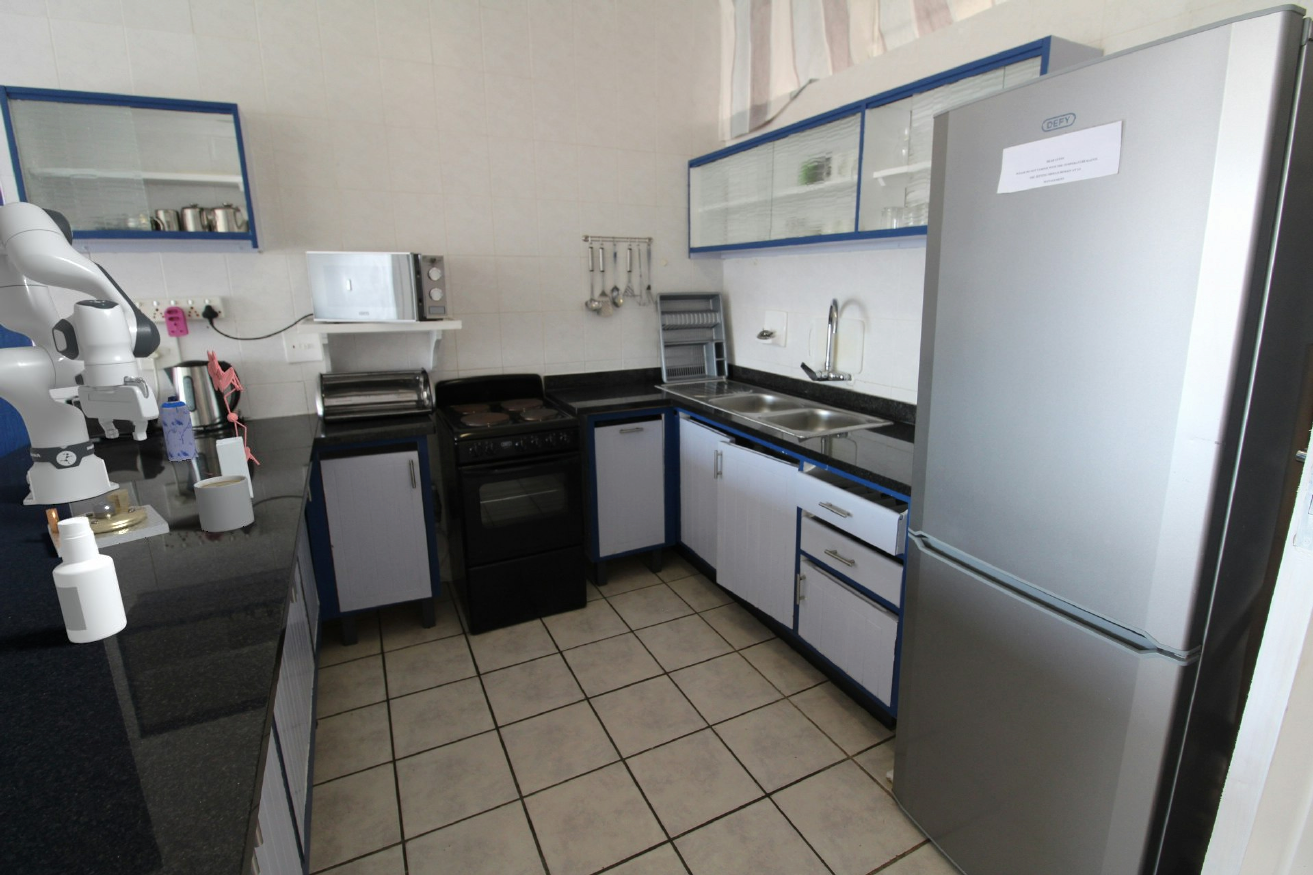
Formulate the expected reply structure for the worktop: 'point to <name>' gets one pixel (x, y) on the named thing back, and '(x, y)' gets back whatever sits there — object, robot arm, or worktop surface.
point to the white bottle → (87, 585)
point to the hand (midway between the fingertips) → (126, 438)
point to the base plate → (133, 532)
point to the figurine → (222, 383)
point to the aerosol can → (178, 430)
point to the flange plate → (117, 519)
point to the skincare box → (233, 458)
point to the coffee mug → (224, 503)
